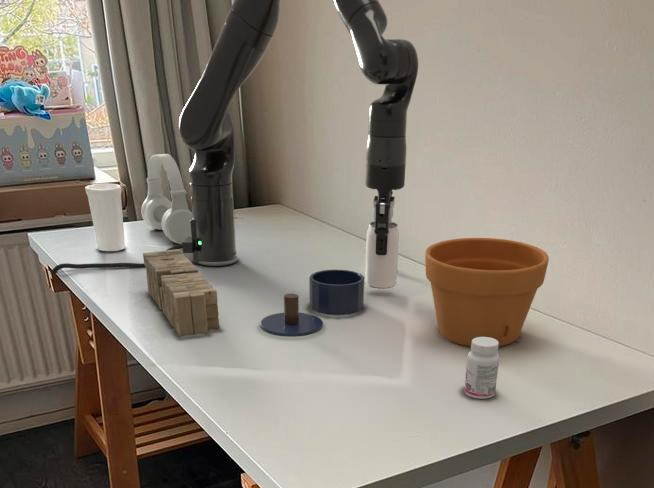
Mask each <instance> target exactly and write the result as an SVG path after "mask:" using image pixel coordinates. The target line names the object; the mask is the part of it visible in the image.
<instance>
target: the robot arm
mask: <svg viewBox="0 0 654 488" xmlns="http://www.w3.org/2000/svg"><path fill="white" fill-rule="evenodd" d="M332 2H333V5H334V7H335V9H336V12H337V14H338V16H339V17H340V19H341V21H342V23H343V24H344V26H345V28H346V29H347V31H348V33H349V35H350V36H351V39H352V44H353V48H354V51H355V54H356V58H357V62H358V65H359V69H360V71H361V73H362V74H363V76H364V77H365V78H366V79H367V81H369V82H370V83H371V84H374V85H377V86H383V85H384V90H383V93H382V95H381V96H380V97H378V98H377V99H374V100H373V101H372V102H371V103H370V104H369V107H368V129H367V130H368V131H367V141H366V150H365V151H366V152H365V153H366V155H365V182H364V183H365V187H367V188H368V189H371V190H376V191H377V195H374V198H373V204H372V206H373V209H374V211H373V222H374V223H375V231H374V232H375V234H376V254H377V255H386V254H387V241H388V234H389V224H391V222H393V221H392V220H393V216H394V208H395V203H396V202H395V200H396V197H395V196H393V193H394V192H393V191H398V190H401V189H403V188H404V187H405V180H406V165H407V119H408V109H409V106H410V103H411V99H412V95H413V92H414V88H415V85H416V81H417V78H418V73H419V57H418V53H417V49H416V47H415V46H414V44H413V43H412V42H411V41H409V40H407V39H404V38H403V39H402V38H399V39H398V38H397V39H396V38H395V39H394V38H393V39H392V38H391V39H390V38H389V39H388V38H387V39H386V38H384V36H383V34H385V31H386V30H387V27H388V17H387V14H386V12H385V10H384V8H383V6H382V5H381V3H380V1H379V0H332ZM280 12H281V0H233V2H232V5H230V9H229V11H228V13H227V15H226V18H225V20H224V23H223V25H222V27H221V30H220V33H219V35H218V37H217V40H216V42H215V45H214V47H213V49H212V52H211V53H210V56H209V59H208V61H207V64H206V67H205V69H204V71H203V73H202V76H201V78H200V79H199V81H198V83H197V85H196V87H195V89H194V90H193V92H192V93H191V96H190V97H189V99H188V100H187V102H186V104H185V106H184V107H183V109H182V112H181V114H180V116H179V122H178V130H179V136H180V139H181V140H182V142H183V143H184V145H185V146H186V147H187V148H189V149H190V150H193V151H194V159H193V162H192V164H191V166H190V168H189V170H188V177H189V179H188V180H189V189H190V201H191V212H192V216H193V219H191V220H190V225H191V237H187V238H186V239H185V240H184V241H183V242H182V244H177V245H173V246H171V247H169V248H167V249H165V251H167V250H176V249H180V250H182V254H192V260H193V264H198V265H202V266H205V267H225V266H229V265H232V264H235V263H237V261H238V256H237V243H236V226H235V207H234V191H233V190H234V189H233V172H234V168H235V161H236V160H235V158H236V157H235V128H234V122H233V121H234V120H233V117H232V114H231V112H230V110H229V107H230V105H231V103H232V100H234V99H233V98H234V97H235V96H236V94H237V92H238V91H239V89H240V88H242V86H243V84H244V83H245V82H246V81H247V79H249V77H250V76H251V75H252V74H253V72H254V71H255V69H256V68H257V67H258V65H260V63H261V61H262V59H263V57H264V56H265V54H266V52H267V50H268V48H269V46H270V45H271V42H272V41H273V38H274V35H275V33H276V31H277V28H278V25H279V21H280ZM379 224H386V228H379ZM112 268H113V269H114V268H116V269H117V268H133V269H138V268H139V269H140V268H141V269H142V268H146V267H145V265H144V262H141V263H140V262H138V263H137V262H105V263H104V262H102V263H101V262H100V263H95V262H94V263H70V262H69V263H67V262H65V263H59V264H57V265H56V266H54V267H53V268H52V269H51V271H50V274H56V273H58V271H61V270H62V269H72V270H73V269H75V270H79V269H81V270H83V269H112Z"/></svg>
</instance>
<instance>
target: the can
mask: <svg viewBox="0 0 654 488" xmlns="http://www.w3.org/2000/svg"><path fill="white" fill-rule="evenodd" d="M379 228H386V224H379ZM374 231H375V223H374V221H370V222H369V224H368V229H367V231H366V239H365V240H366V241H365V269H364V270H365V274H364V284H366V286H367V287H370V288H373V289H379V290H380V289H381V290H384V289H385V290H386V289H391V288H393V287H395V286H396V285H397V282H398V281H397V280H398V266H399V265H398V264H399V249H400V248H399V247H400V246H399V245H400V231H399V228H398V223H396V222H393V221H392V222H391V224H389V234H388V241H387V254H386V255H377V254H376V234H375V232H374Z"/></svg>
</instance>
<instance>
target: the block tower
mask: <svg viewBox="0 0 654 488" xmlns="http://www.w3.org/2000/svg"><path fill="white" fill-rule="evenodd" d="M166 250H167V249H166ZM166 250H159V251H149V252H142V259H143V263H144V265H145V267H144V268H145V271H146V282H147V283H146V284H147V291H148V293H149V295H150V297H151V298H152V299H153V301H154V302H155V304H156V305H157V306H158V308H159V310H161V311H162V313H163V314H164V316H165V317H166V320H168V322H169V324H170V325H171V327H172V328H174V330H175V331H176V332H177V335H178V337H186V336H193V335H203V334H208V333H209V330H217V329H220V319H219V306H218V291H217V289H216V288H215V287H214V286H213V284H211V282H210V281H208V279H207V278H205V276H204V275H203V274H202V273H201V271H199V269H198V268H197V267H196V266H195V265H194V263H192V261H190V260H189V259H188V258H187V257H186V256H185V254H184V253H183V251H182V249H176V250H167V251H166Z"/></svg>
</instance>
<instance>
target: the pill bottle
mask: <svg viewBox="0 0 654 488" xmlns="http://www.w3.org/2000/svg"><path fill="white" fill-rule="evenodd" d="M498 345H499V342H498V341H497V340H496V339H494V338H490V337H477V338H474V339H473V340H472V343H471V347H470V351H469V352H468V354H467V358H466V369H465V377H464V378H465V379H464V387H463V389H464V393H465V395H466V396H468V397H470V398H473V399H478V400H479V399H480V400H487V399H490V398H493V397H494V396H495V394H496V391H497V389H496V388H497V380H498V373H499V365H500V355H499V353H498V352H499V347H498Z"/></svg>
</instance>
